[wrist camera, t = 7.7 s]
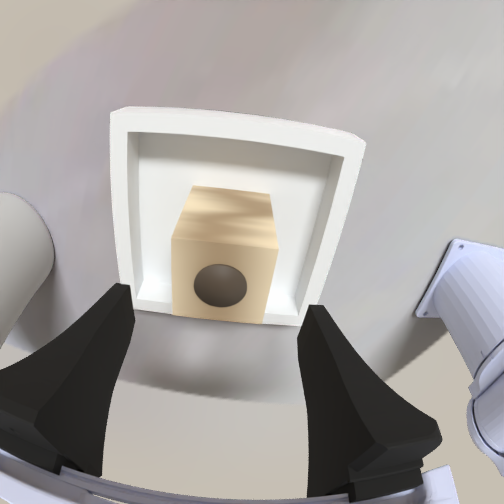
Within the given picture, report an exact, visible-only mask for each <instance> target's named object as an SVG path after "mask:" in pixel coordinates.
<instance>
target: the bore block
mask: <svg viewBox="0 0 504 504" xmlns="http://www.w3.org/2000/svg"><path fill="white" fill-rule="evenodd" d="M278 251H279V247H278V241H277V235H276V229H275V223H274V217H273V211H272V205H271V200H270V194H266V193H258V192H250V191H242V190H233V189H224V188H215V187H205V186H195V185H193V186H192V188H191V191H190V193H189V195H188V198H187V200H186V202H185V205H184V207H183V210H182V212H181V214H180V217H179V219H178V222H177V224H176V227H175V229H174V232H173V234H172V237H171V278H172V311H173V315H177V316H185V317H193V318H202V319H211V320H221V321H231V322H242V323H253V324H262V321H263V317H264V313H265V309H266V304H267V300H268V296H269V291H270V287H271V283H272V278H273V274H274V269H275V265H276V260H277V256H278Z"/></svg>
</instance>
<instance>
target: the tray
mask: <svg viewBox="0 0 504 504" xmlns="http://www.w3.org/2000/svg"><path fill="white" fill-rule="evenodd" d="M365 147H366V142H365V141H363V140H362V139H360V138H359V137H357V136H356V135H354V134H353V133H351V132H347V131H342V130H338V129H333V128H329V127H324V126H319V125H314V124H309V123H303V122H298V121H292V120H286V119H280V118H274V117H267V116H260V115H253V114H245V113H236V112H227V111H217V110H206V109H193V108H177V107H151V106H127V107H124V108H121V109H119V110H116V111H113V112H111V113H110V173H111V195H112V210H113V222H114V233H115V243H116V252H117V260H118V268H119V276H120V282H121V284H127V285H130V288H131V296H132V303H133V309H139V310H145V311H152V312H160V313H167V314H173V311H172V278H171V237H172V234H173V232H174V229H175V227H176V224H177V222H178V219H179V217H180V214H181V212H182V210H183V207H184V205H185V202H186V200H187V198H188V195H189V193H190V191H191V188H192V186H193V185H195V186H205V187H215V188H224V189H233V190H242V191H250V192H258V193H266V194H270V200H271V205H272V211H273V217H274V223H275V229H276V235H277V241H278V247H279V251H278V256H277V260H276V265H275V269H274V274H273V278H272V283H271V287H270V291H269V296H268V300H267V304H266V309H265V313H264V317H263V321H262V324H275V325H290V326H302V323H303V320H304V318H305V315H306V312H307V309H308V306H309V304H311V305H317V303H318V300H319V297H320V295H321V292H322V289H323V286H324V283H325V280H326V277H327V275H328V272H329V269H330V266H331V263H332V260H333V257H334V254H335V251H336V248H337V244H338V241H339V238H340V235H341V232H342V229H343V225H344V222H345V219H346V216H347V212H348V209H349V205H350V202H351V199H352V195H353V192H354V188H355V185H356V181H357V177H358V174H359V170H360V166H361V163H362V159H363V155H364V151H365Z"/></svg>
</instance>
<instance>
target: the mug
mask: <svg viewBox="0 0 504 504" xmlns="http://www.w3.org/2000/svg"><path fill="white" fill-rule="evenodd" d="M53 263H54V248H53V242H52V238H51V236H50V233H49V230H48V228H47V226H46V224H45V223H44V221H43V219H42V218H41V216H40V215H39V213H38V212H37V211H36V210H35V209H34V208H33V207H32V206H31V205H30V204H29V203H28V202H27V201H26V200H24V199H23V198H21V197H19V196H17V195H15V194H12V193H6V192H2V193H0V349H1V347H2V345H3V343H4V342H5V340H6V338H7V336H8V335H9V333H10V331H11V330H12V328H13V326H14V325H15V323H16V322H17V320H18V318H19V317H20V315H21V314H22V312H23V311H24V309H25V307H26V306H27V304H28V303H29V301H30V300H31V298H32V297H33V296H34V294H35V293H36V291H37V290H38V289H39V287H40V286H41V285H42V283H43V282H44V281H45V279H46V278H47V276H48V275H49V273H50V271H51V269H52V266H53Z"/></svg>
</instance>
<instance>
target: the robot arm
mask: <svg viewBox="0 0 504 504" xmlns="http://www.w3.org/2000/svg"><path fill="white" fill-rule="evenodd" d="M460 245H461V246H460ZM459 246H460V247H459ZM415 314H416V316H417V317H425V318H441V319H442V321H443V322H444V324H445V326H446V328H447V329H448V331H449V333H450V335H451V336H452V338H453V340H454V342H455V344H456V346H457V348H458V349H459V351H460V353H461V355H462V357H463V359H464V361H465V363H466V365H467V367H468V369H469V371H470V373H471V375H472V377H473V379H474V381H473V382H472V384H471V385H470V386H469V387H468V388H469V390H470V393H471V395H472V398H471V400H470V401H469V403H468V406H467V426H468V430H469V433H470V436H471V438H472V440H473V442H474V444H475V445H476V446H477V448H478V449H479V450H480V451H481V452H483V453H484V454H486V455H487V456H488V457H489V458H490V459H491V460H492V461H493V462H494V464H495V465H496V467H497V468H498V470H499V472H500V474H501V476H503V477H504V249H502V248H498V247H493V246H489V245H484V244H480V243H475V242H470V241H465V240H460V239H454V240H453V241H452V242H451V244H450V246H449V248H448V250H447V252H446V254H445V257H444V259H443V261H442V263H441V265H440V267H439V269H438V271H437V273H436V275H435V277H434V279H433V281H432V283H431V284H430V286H429V288H428V290H427V292H426V294H425V296H424V297H423V299H422V301H421V303H420V305H419V306H418V308H417V310H416V312H415ZM134 324H135V316H134V310H133V303H132V296H131V288H130V285H127V284H120V283H116V284H114V285H113V286H112V287H111V288H110V289H109V290H108V291H107V292H106V293H105V294H104V295H103V296H102V297H101V298H100V299H99V300H98V301H97V302H96V303H95V304H94V305H93V306H92V307H91V308H90V309H89V310H88V311H87V312H86V313H85V314H83V315H82V316H81V317H80V318H79V319H78V320H77V321H76V322H75V323H73V324H72V325H71V326H70V327H69V328H68V329H67V330H65V331H64V332H63V333H62V334H60V335H59V336H58V337H56V338H55V339H54V340H52V341H51V342H50V343H48V344H47V345H45V346H44V347H42V348H41V349H39V350H37V351H36V352H34V353H33V354H31V355H29V356H28V357H26V358H24V359H22V360H20V361H19V362H17V363H15V364H13V365H11V366H8V367H6V368H4V369H1V370H0V498H2V499H4V500H6V501H7V502H9V503H11V504H118V503H114V502H112V501H109V500H106V499H103V498H100V497H97V496H94V495H98V496H101V497H105V498H108V499H112V500H116V501H120V502H124V503H128V504H459V500H458V496H457V492H456V488H455V484H454V480H453V477H452V473H451V469H450V466H449V465H444V466H441V467H438V468H435V469H432V470H429V471H426V472H424V473H422V474H421V470H420V468H421V467H423V460H422V458H423V457H425V456H426V455H428V454H429V453H430V452H432V451H433V450H435V449H436V448H437V447H438V446H439V445H440V444H441V442H442V436H441V433H440V430H439V427H438V424H437V422H436V420H434V419H433V418H431V417H429V416H428V415H426V414H425V413H423V412H422V411H420V410H418V409H417V408H415V407H414V406H413V405H411V404H410V403H408V402H407V401H406V400H404V399H403V398H402V397H401V396H399V395H398V394H397V393H396V392H395V391H393V390H392V389H391V388H390V387H389V386H388V385H387V384H386V383H384V382H383V381H382V380H381V379H380V378H379V377H378V376H377V375H376V374H375V373H374V372H373V370H372V369H371V368H370V367H369V366H368V365H367V364H366V363H365V362H364V360H363V359H362V358H361V357H360V356H359V354H358V353H357V352H356V351H355V349H354V348H353V347H352V345H351V344H350V343H349V341H348V340H347V339H346V337H345V336H344V335H343V333H342V332H341V330H340V329H339V327H338V326H337V325H336V323H335V322H334V320H333V319H332V317H331V316H330V314H329V313H328V311H327V310H326V308H325V307H324V306H323V305H311V304H309V306H308V309H307V312H306V315H305V318H304V320H303V323H302V326H301V329H300V332H299V334H298V337H297V345H298V361H299V367H300V373H301V378H302V384H303V389H304V395H305V401H306V407H307V415H308V440H309V467H308V468H309V469H308V487H307V498H299V499H281V500H280V499H279V500H237V499H219V498H206V497H195V496H187V495H179V494H172V493H166V492H160V491H153V490H149V489H144V488H139V487H133V486H130V485H125V484H121V483H117V482H113V481H109V480H105V479H102V478H99V477H100V476H102V463H103V462H102V461H103V449H104V440H105V432H106V425H107V419H108V413H109V407H110V403H111V397H112V393H113V390H114V386H115V383H116V380H117V377H118V375H119V372H120V369H121V366H122V363H123V361H124V358H125V355H126V352H127V349H128V347H129V344H130V341H131V337H132V333H133V328H134ZM93 494H94V495H93Z"/></svg>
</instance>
